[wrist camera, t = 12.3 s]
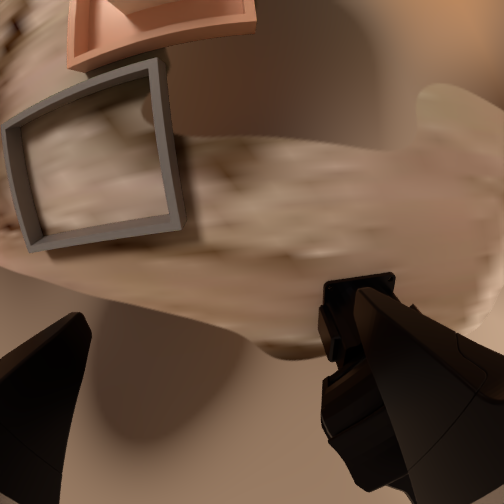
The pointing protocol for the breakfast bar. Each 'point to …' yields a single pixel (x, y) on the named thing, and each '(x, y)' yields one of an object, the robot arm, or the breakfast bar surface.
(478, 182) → the breakfast bar surface
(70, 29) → the terracotta tray
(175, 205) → the gray rectangular frame
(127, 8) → the stone block
